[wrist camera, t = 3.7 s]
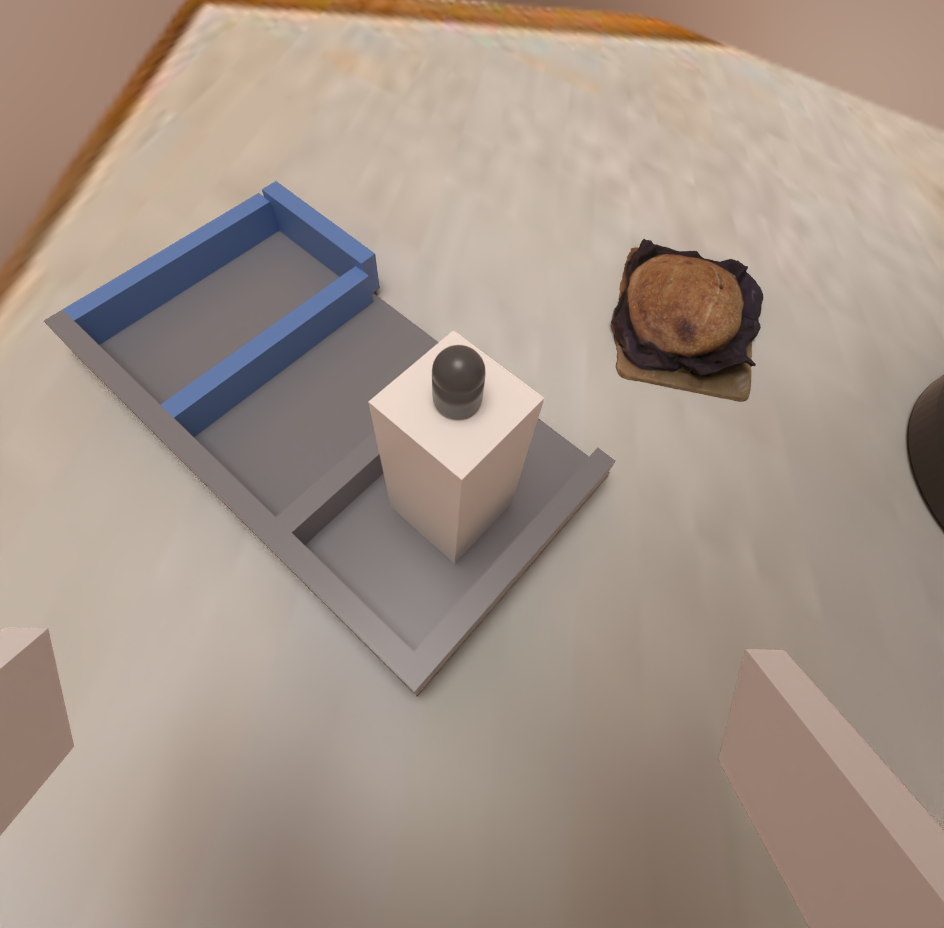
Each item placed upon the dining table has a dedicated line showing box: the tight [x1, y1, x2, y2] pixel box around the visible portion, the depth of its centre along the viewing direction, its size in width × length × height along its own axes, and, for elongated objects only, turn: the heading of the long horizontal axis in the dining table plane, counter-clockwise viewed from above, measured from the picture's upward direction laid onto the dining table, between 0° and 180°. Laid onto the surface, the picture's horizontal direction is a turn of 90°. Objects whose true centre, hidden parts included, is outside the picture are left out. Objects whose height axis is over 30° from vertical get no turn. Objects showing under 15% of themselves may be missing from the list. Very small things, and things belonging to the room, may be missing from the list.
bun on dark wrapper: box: [611, 239, 763, 401], centre depth 31 cm, size 11×8×4 cm
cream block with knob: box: [368, 330, 544, 564], centre depth 21 cm, size 4×4×11 cm
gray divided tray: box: [44, 181, 615, 696], centre depth 27 cm, size 14×25×3 cm, turn 48°
